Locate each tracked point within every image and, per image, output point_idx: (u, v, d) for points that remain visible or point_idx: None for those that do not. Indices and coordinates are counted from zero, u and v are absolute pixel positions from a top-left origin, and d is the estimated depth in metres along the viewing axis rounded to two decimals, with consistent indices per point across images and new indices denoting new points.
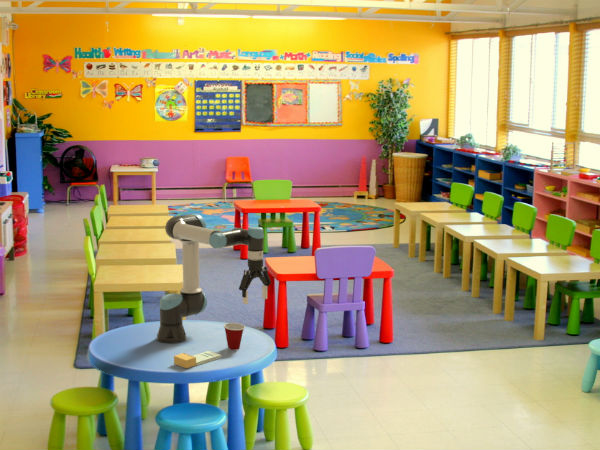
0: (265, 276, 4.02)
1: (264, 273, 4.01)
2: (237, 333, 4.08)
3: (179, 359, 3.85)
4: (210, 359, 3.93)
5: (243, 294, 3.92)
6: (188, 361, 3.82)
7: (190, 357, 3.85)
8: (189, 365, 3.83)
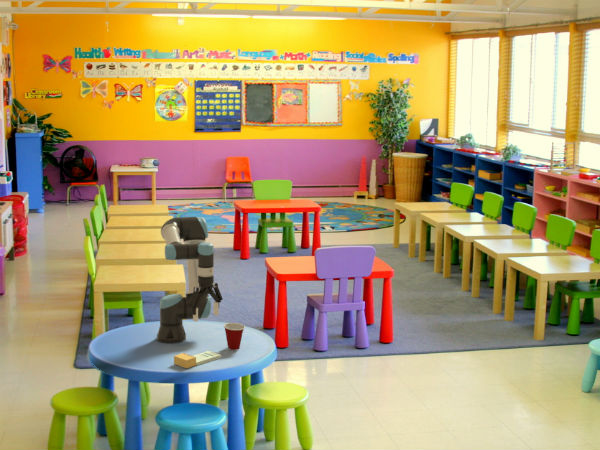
0: (216, 292, 3.96)
1: (215, 289, 3.95)
2: (237, 333, 4.08)
3: (179, 359, 3.85)
4: (210, 359, 3.93)
5: (193, 311, 3.85)
6: (188, 361, 3.82)
7: (190, 357, 3.85)
8: (189, 365, 3.83)
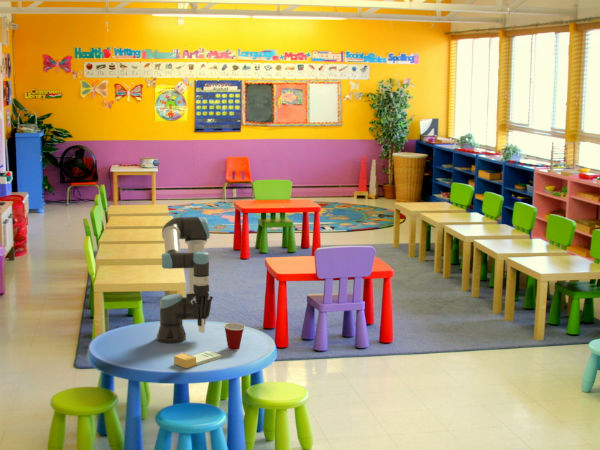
0: (206, 306, 3.93)
1: (207, 302, 3.93)
2: (237, 333, 4.08)
3: (179, 359, 3.85)
4: (210, 359, 3.93)
5: (198, 322, 3.90)
6: (188, 361, 3.82)
7: (190, 357, 3.85)
8: (189, 365, 3.83)
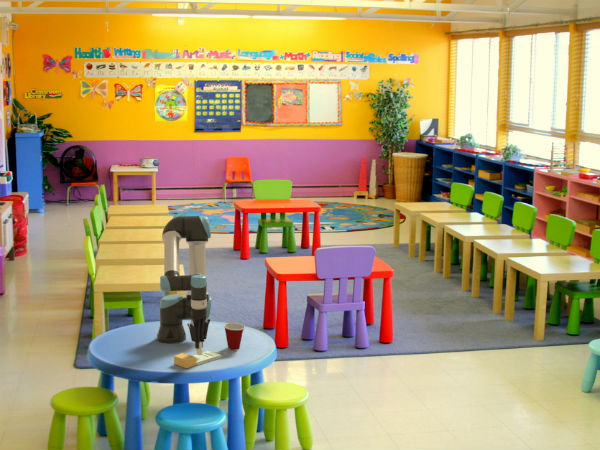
0: (204, 329, 3.94)
1: (205, 325, 3.94)
2: (237, 333, 4.08)
3: (179, 359, 3.85)
4: (210, 359, 3.93)
5: (196, 345, 3.91)
6: (188, 361, 3.82)
7: (190, 357, 3.85)
8: (189, 365, 3.83)
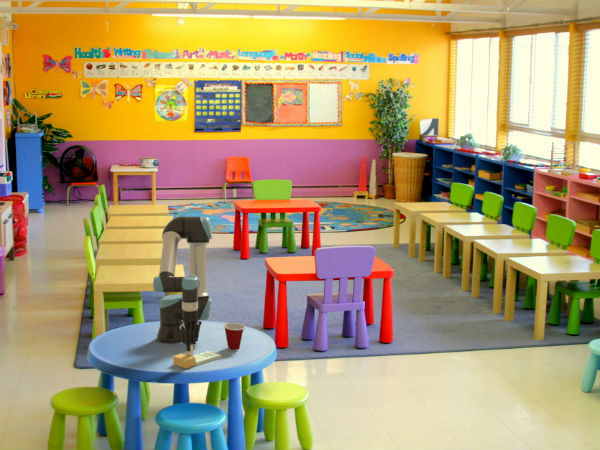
0: (195, 331, 3.90)
1: (196, 328, 3.89)
2: (237, 333, 4.08)
3: (178, 359, 3.84)
4: (210, 359, 3.93)
5: (187, 348, 3.87)
6: (187, 362, 3.82)
7: (190, 358, 3.84)
8: (188, 365, 3.83)
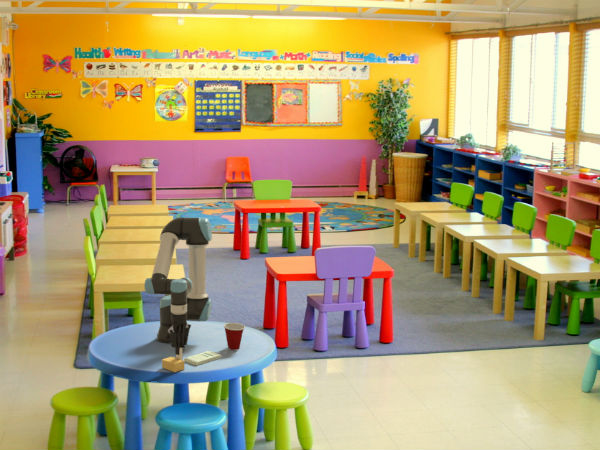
0: (184, 335, 3.85)
1: (185, 331, 3.85)
2: (237, 333, 4.08)
3: (167, 362, 3.79)
4: (210, 359, 3.93)
5: (176, 351, 3.82)
6: (176, 365, 3.77)
7: (179, 361, 3.79)
8: (177, 369, 3.78)
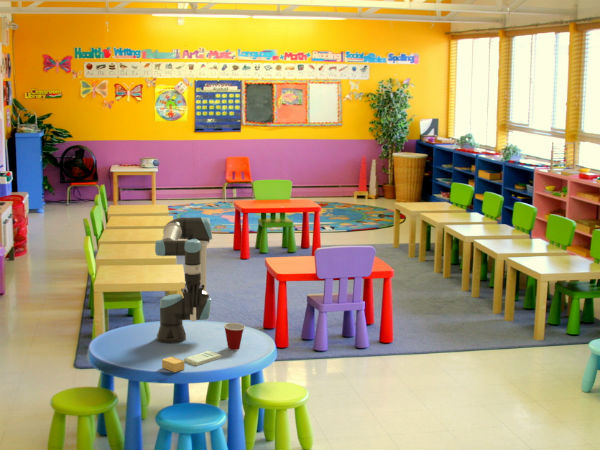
0: (198, 295, 3.89)
1: (199, 291, 3.89)
2: (237, 333, 4.08)
3: (167, 362, 3.79)
4: (210, 359, 3.93)
5: (190, 311, 3.87)
6: (176, 365, 3.77)
7: (179, 361, 3.79)
8: (177, 369, 3.78)
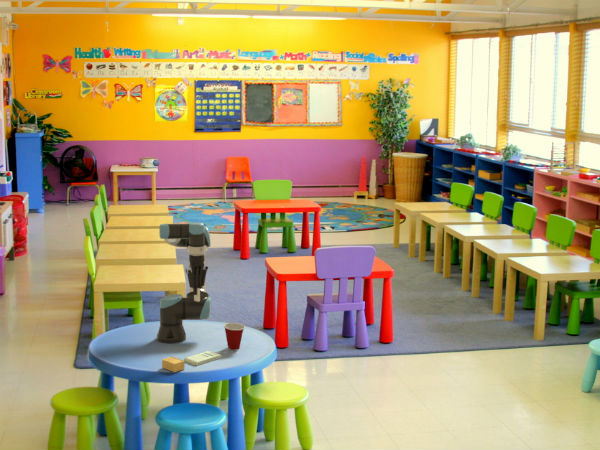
0: (202, 276, 4.03)
1: (203, 272, 4.02)
2: (237, 333, 4.08)
3: (167, 362, 3.79)
4: (210, 359, 3.93)
5: (194, 292, 4.00)
6: (176, 365, 3.77)
7: (179, 361, 3.79)
8: (177, 369, 3.78)
